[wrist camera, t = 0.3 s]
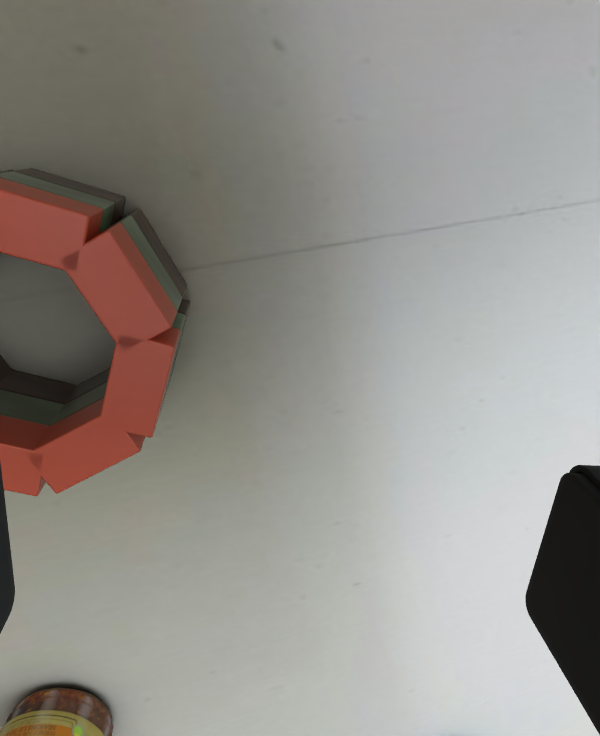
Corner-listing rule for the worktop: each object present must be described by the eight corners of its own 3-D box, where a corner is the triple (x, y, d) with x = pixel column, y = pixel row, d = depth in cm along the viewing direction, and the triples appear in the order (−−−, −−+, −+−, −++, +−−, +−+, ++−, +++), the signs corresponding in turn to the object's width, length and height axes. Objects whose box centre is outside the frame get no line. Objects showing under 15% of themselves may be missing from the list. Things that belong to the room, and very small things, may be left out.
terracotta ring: (-206, 278, 20) (-251, 293, 18) (58, 123, 19) (38, 121, 17) (-2, 504, 24) (-22, 535, 22) (225, 387, 23) (224, 409, 21)
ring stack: (-136, 256, 24) (-206, 278, 20) (89, 124, 23) (58, 123, 19) (31, 455, 28) (-2, 504, 24) (229, 352, 27) (225, 387, 23)
